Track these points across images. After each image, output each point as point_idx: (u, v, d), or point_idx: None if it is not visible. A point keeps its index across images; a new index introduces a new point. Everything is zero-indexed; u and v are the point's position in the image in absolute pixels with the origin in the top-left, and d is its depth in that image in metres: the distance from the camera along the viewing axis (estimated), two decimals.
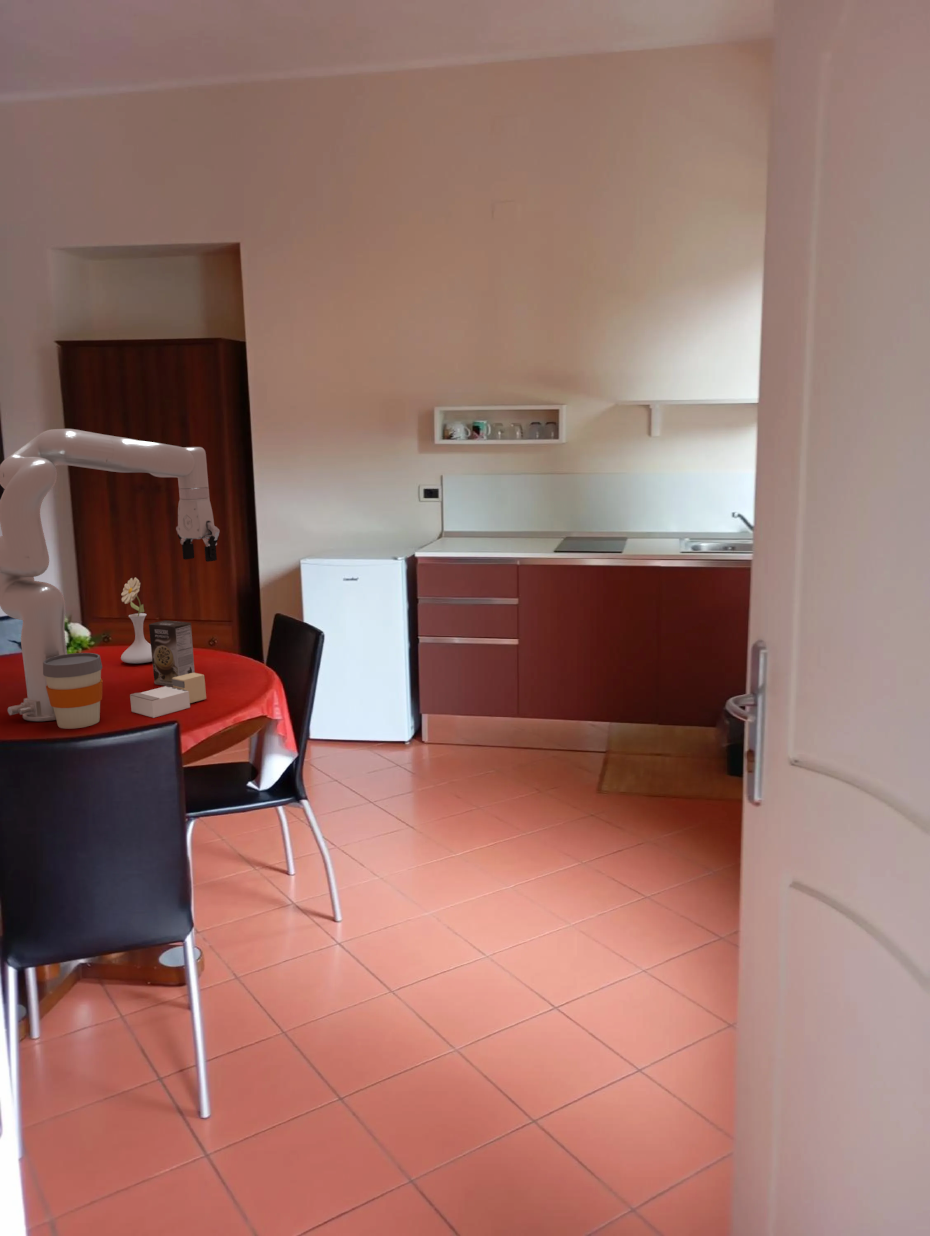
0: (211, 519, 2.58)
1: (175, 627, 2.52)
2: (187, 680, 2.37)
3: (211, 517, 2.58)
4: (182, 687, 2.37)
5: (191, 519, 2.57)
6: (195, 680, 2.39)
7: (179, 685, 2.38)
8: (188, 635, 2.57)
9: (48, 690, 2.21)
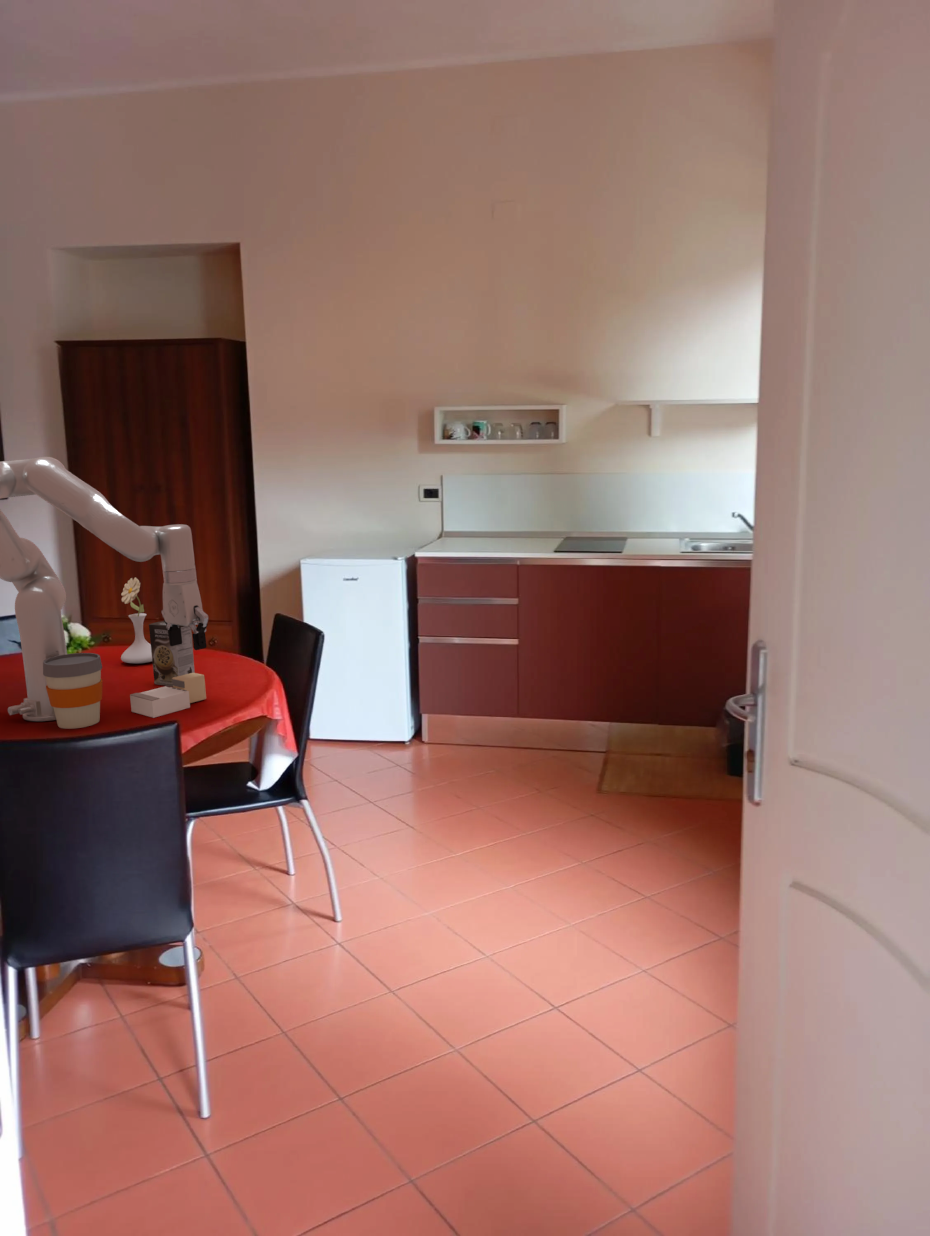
0: (199, 604, 2.34)
1: None
2: (187, 680, 2.37)
3: (199, 601, 2.34)
4: (182, 687, 2.37)
5: (177, 604, 2.33)
6: (195, 680, 2.39)
7: (179, 685, 2.38)
8: (188, 635, 2.57)
9: (48, 690, 2.21)
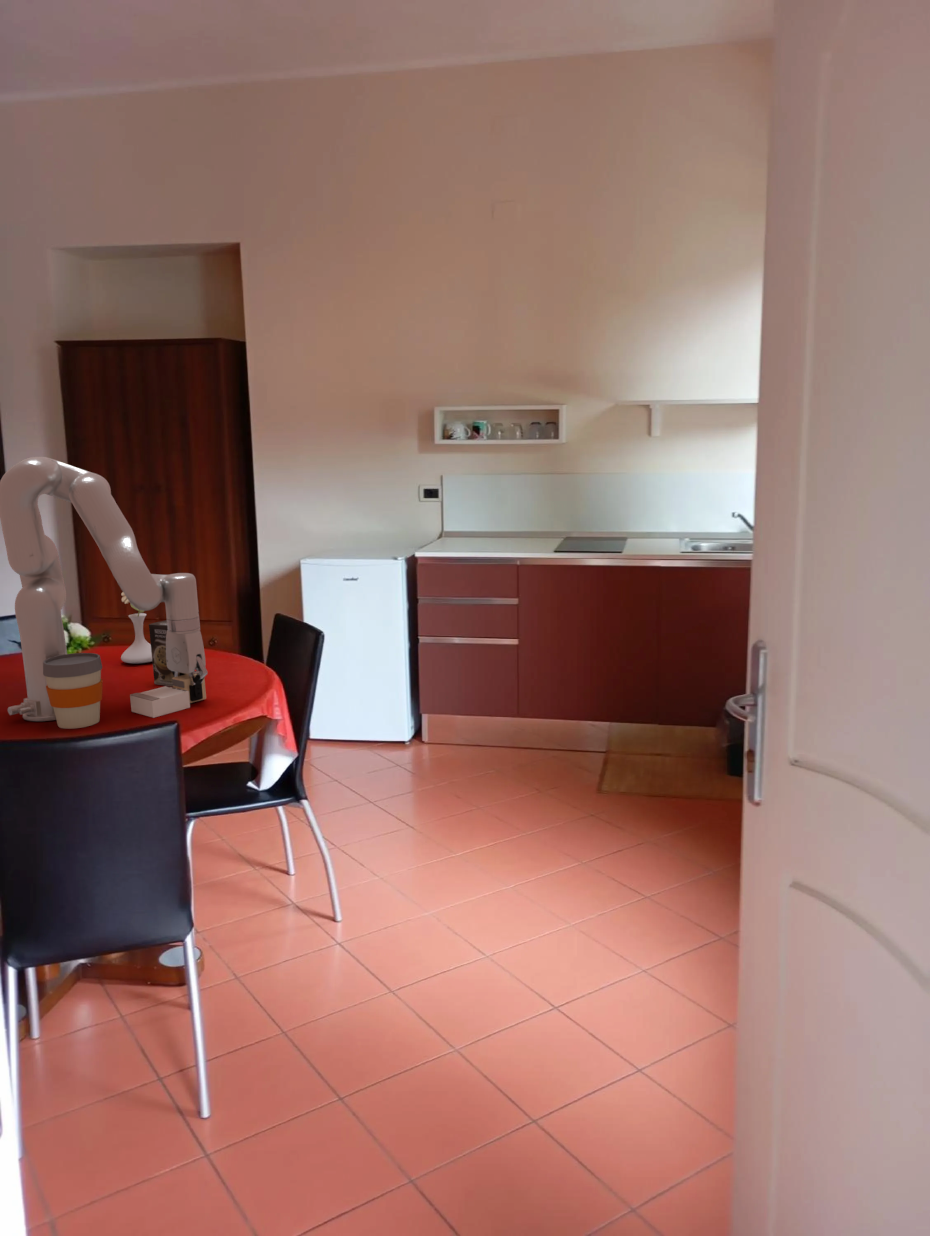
0: (202, 652, 2.37)
1: None
2: (187, 680, 2.37)
3: (202, 650, 2.36)
4: (182, 687, 2.37)
5: (180, 652, 2.35)
6: None
7: (179, 685, 2.38)
8: None
9: (48, 690, 2.21)
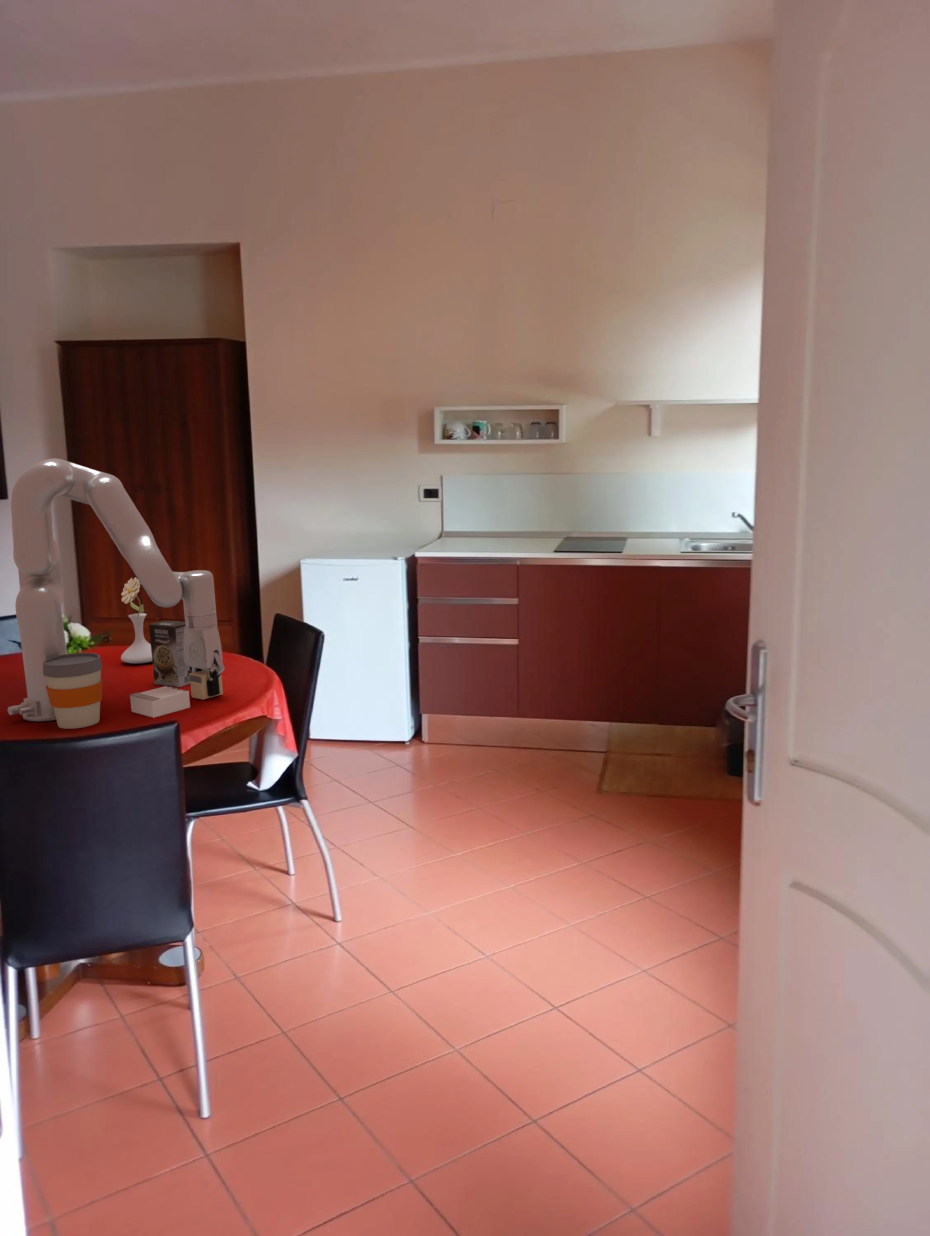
0: (219, 648, 2.40)
1: (175, 627, 2.52)
2: (204, 676, 2.41)
3: (219, 646, 2.40)
4: (200, 683, 2.41)
5: (197, 648, 2.39)
6: None
7: (196, 680, 2.41)
8: None
9: (48, 690, 2.21)
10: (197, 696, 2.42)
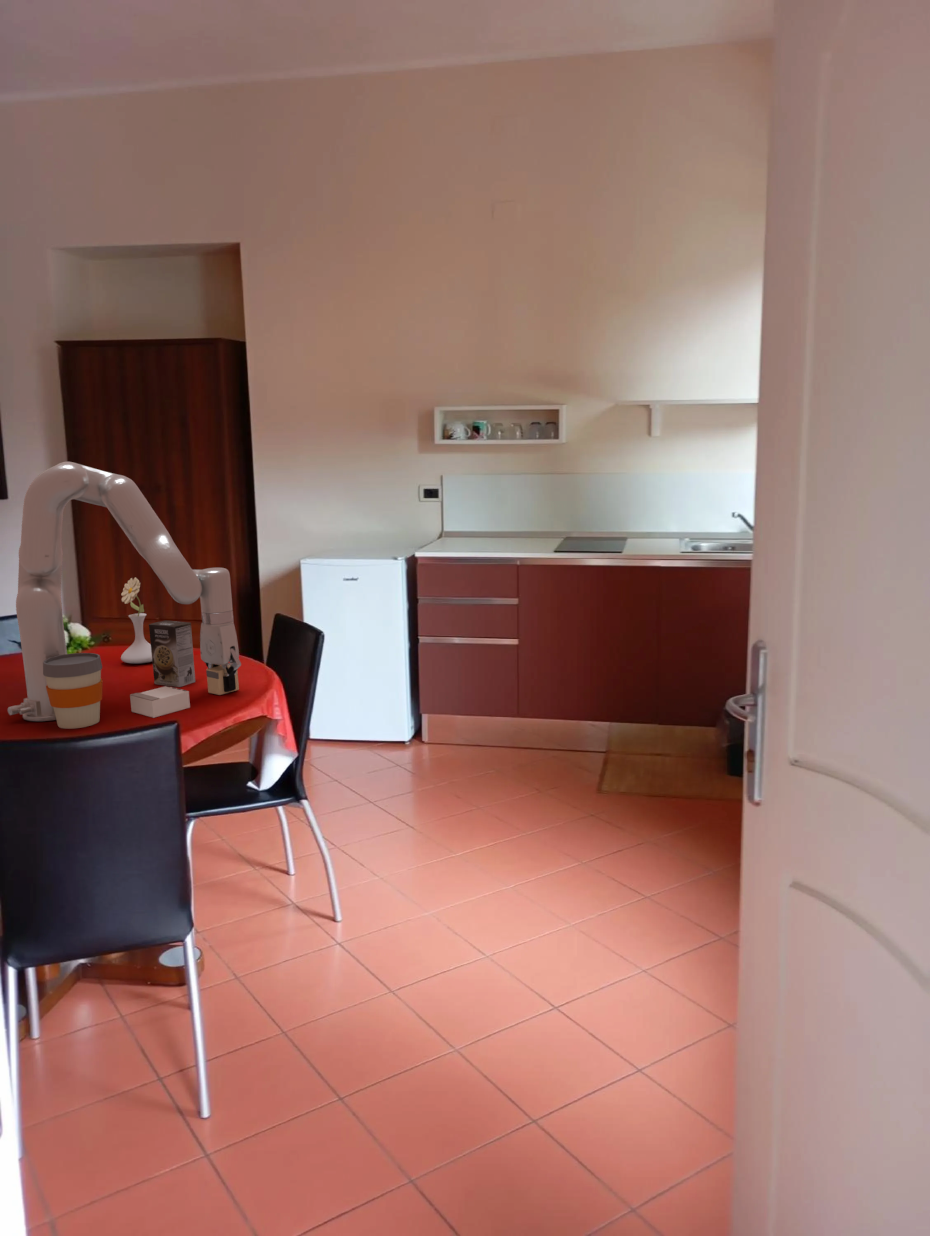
0: (236, 644, 2.44)
1: (175, 627, 2.52)
2: (221, 671, 2.45)
3: (235, 642, 2.44)
4: (216, 678, 2.44)
5: (214, 644, 2.43)
6: None
7: (213, 676, 2.45)
8: (188, 635, 2.57)
9: (48, 690, 2.21)
10: (214, 691, 2.46)
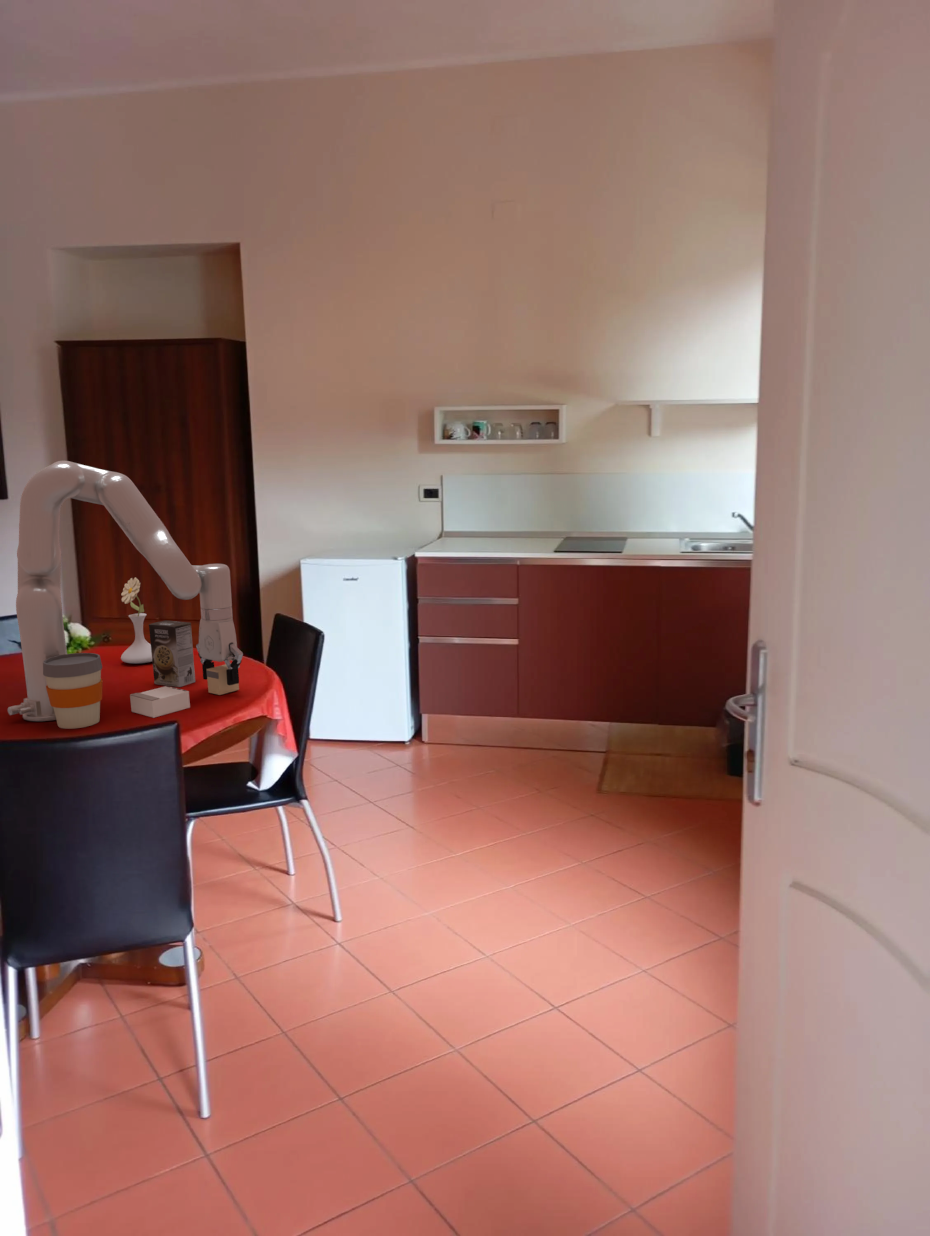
0: (234, 641, 2.44)
1: (175, 627, 2.52)
2: (221, 671, 2.45)
3: (234, 638, 2.44)
4: (217, 678, 2.44)
5: (213, 641, 2.43)
6: None
7: (213, 676, 2.45)
8: (188, 635, 2.57)
9: (48, 690, 2.21)
10: (214, 691, 2.46)
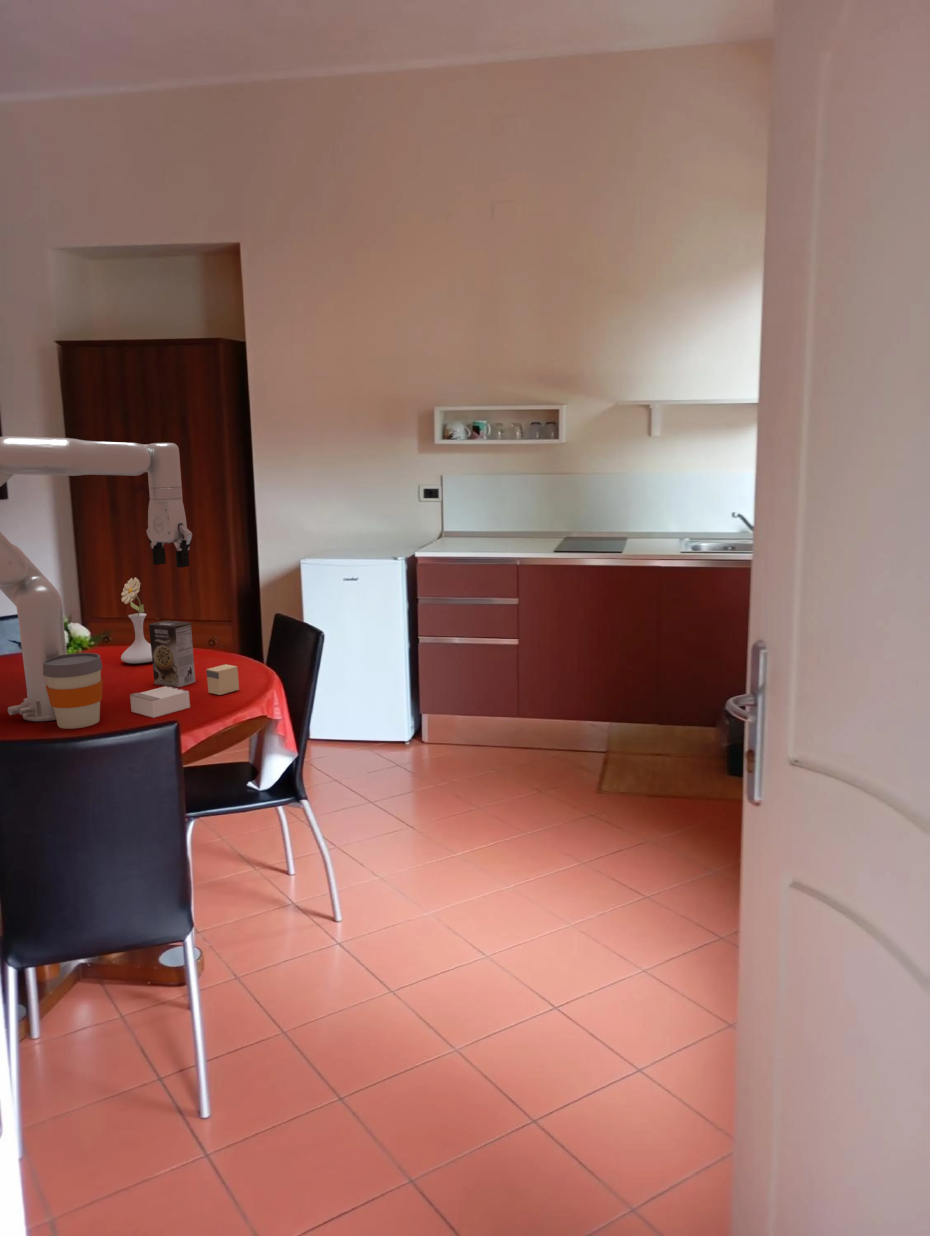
0: (184, 522, 2.37)
1: (175, 627, 2.52)
2: (221, 671, 2.45)
3: (184, 519, 2.37)
4: (217, 678, 2.44)
5: (162, 521, 2.36)
6: (229, 671, 2.46)
7: (213, 676, 2.45)
8: (188, 635, 2.57)
9: (48, 690, 2.21)
10: (214, 691, 2.46)
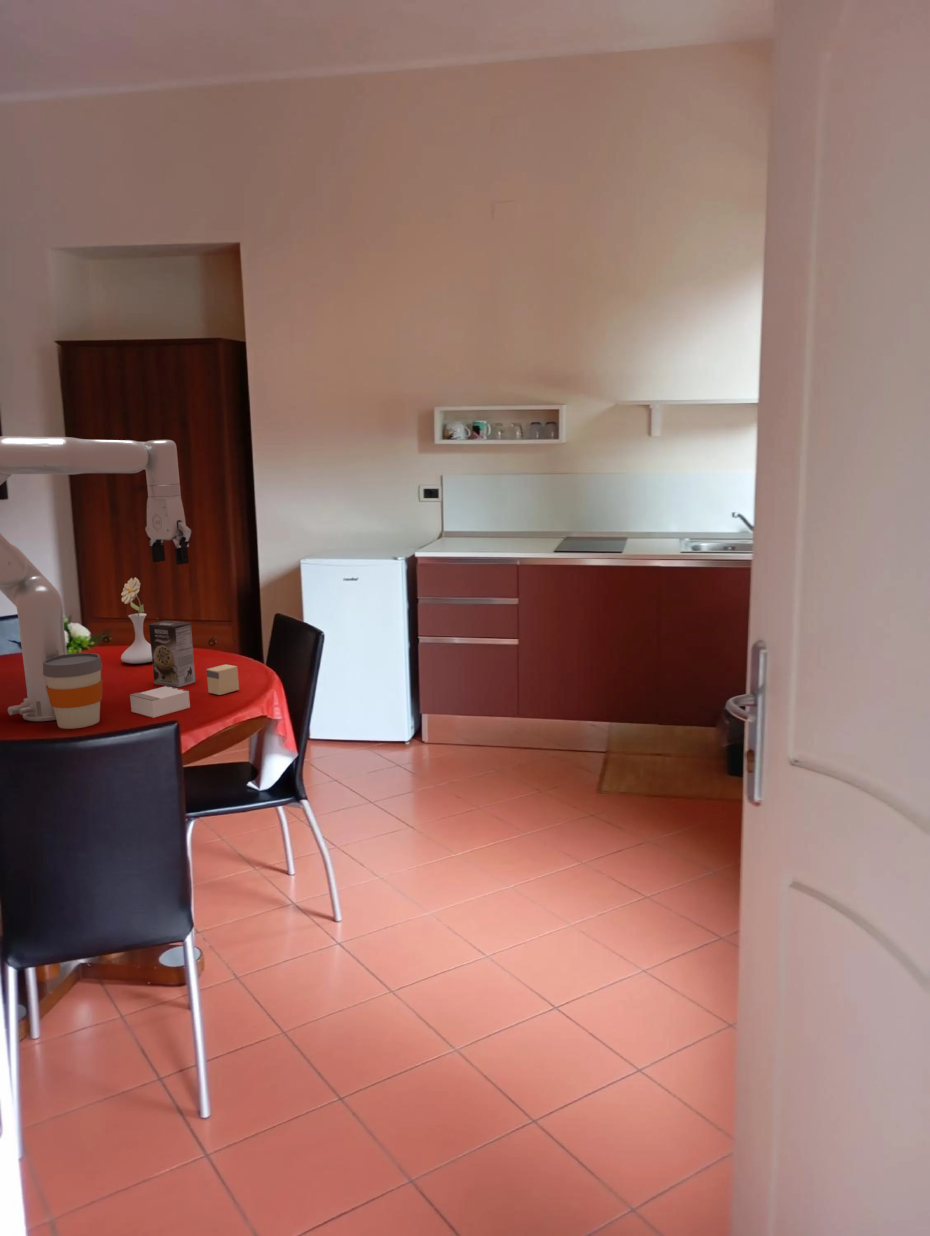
0: (183, 519, 2.37)
1: (175, 627, 2.52)
2: (221, 671, 2.45)
3: (182, 516, 2.37)
4: (217, 678, 2.44)
5: (160, 518, 2.36)
6: (229, 671, 2.46)
7: (213, 676, 2.45)
8: (188, 635, 2.57)
9: (48, 690, 2.21)
10: (214, 691, 2.46)
